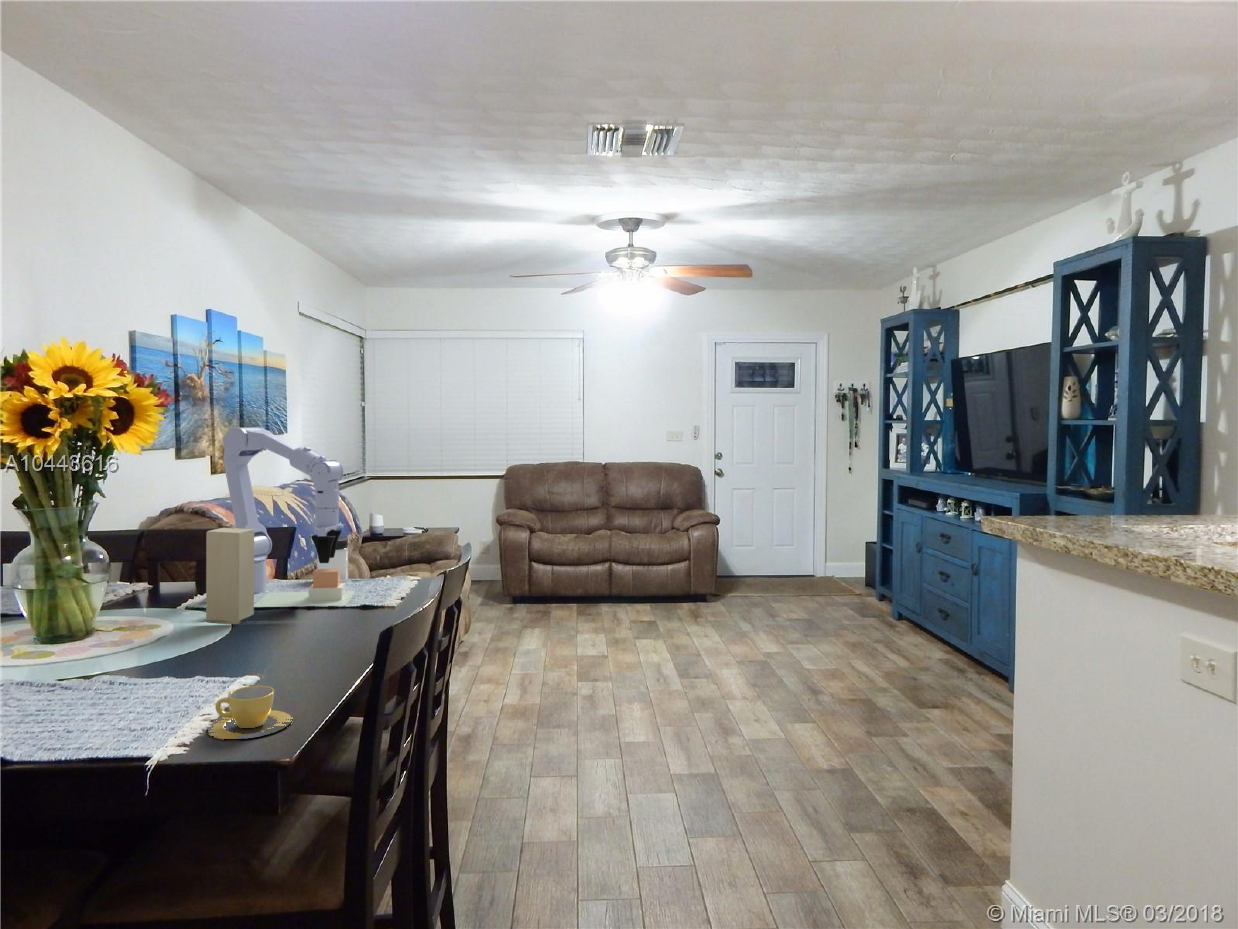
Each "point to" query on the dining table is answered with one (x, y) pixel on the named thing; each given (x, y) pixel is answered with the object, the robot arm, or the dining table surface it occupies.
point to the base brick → (327, 593)
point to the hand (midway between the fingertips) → (326, 560)
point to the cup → (247, 710)
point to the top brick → (326, 578)
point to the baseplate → (298, 600)
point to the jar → (338, 559)
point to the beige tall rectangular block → (229, 575)
